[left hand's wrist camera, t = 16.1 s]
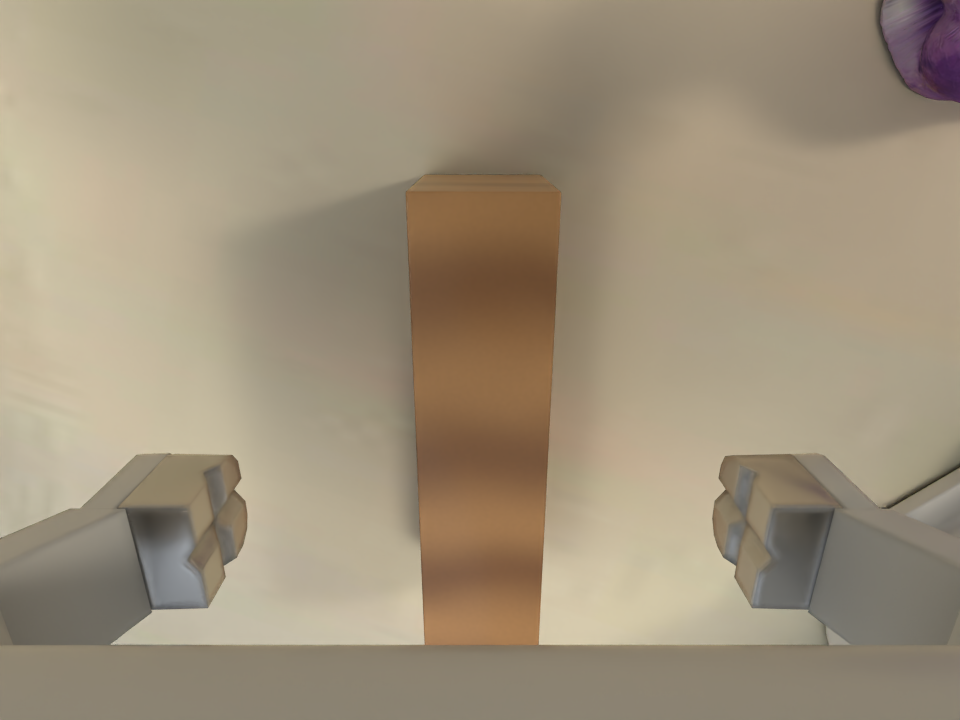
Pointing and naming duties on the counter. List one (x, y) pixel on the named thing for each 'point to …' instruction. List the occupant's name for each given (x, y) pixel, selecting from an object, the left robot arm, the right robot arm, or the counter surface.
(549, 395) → the bar
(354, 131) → the counter surface
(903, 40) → the figurine
